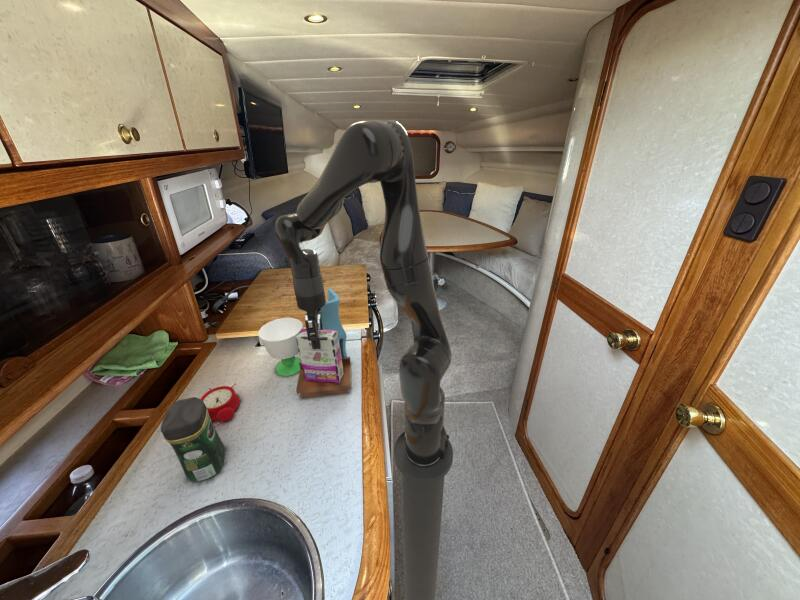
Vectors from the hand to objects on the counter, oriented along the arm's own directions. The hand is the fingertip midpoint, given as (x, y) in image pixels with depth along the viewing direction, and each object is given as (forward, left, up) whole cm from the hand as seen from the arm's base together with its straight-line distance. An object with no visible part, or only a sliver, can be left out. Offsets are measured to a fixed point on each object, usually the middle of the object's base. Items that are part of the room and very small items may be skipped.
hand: (318, 339), depth 90 cm
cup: (+13, -12, -18) cm, 25 cm away
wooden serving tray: (0, -1, -18) cm, 18 cm away
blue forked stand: (-1, -13, -18) cm, 22 cm away
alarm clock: (+30, +5, -18) cm, 36 cm away
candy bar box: (0, 0, -14) cm, 14 cm away
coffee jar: (+27, +22, -18) cm, 40 cm away
